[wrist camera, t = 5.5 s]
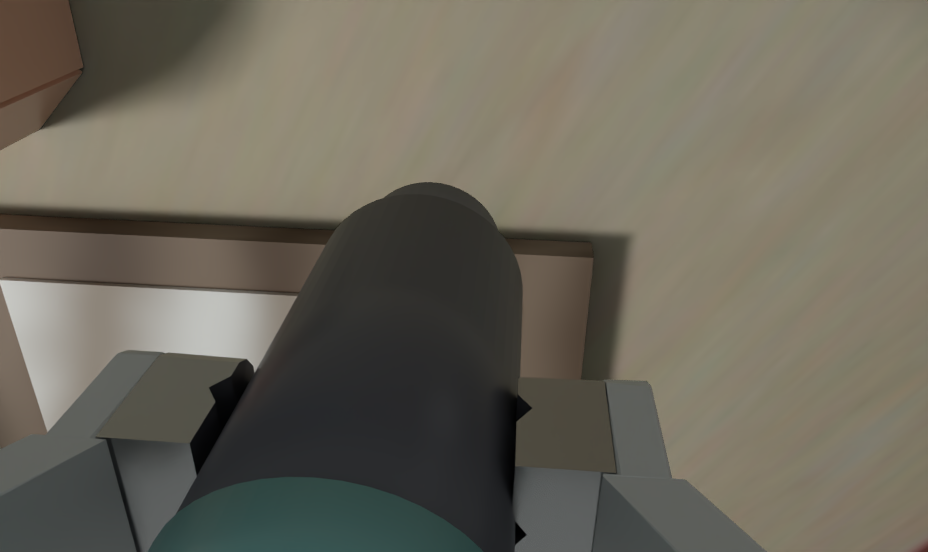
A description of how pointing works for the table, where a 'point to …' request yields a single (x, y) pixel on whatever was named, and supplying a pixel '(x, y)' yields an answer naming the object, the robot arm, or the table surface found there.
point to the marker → (377, 397)
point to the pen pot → (34, 64)
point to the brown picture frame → (203, 301)
